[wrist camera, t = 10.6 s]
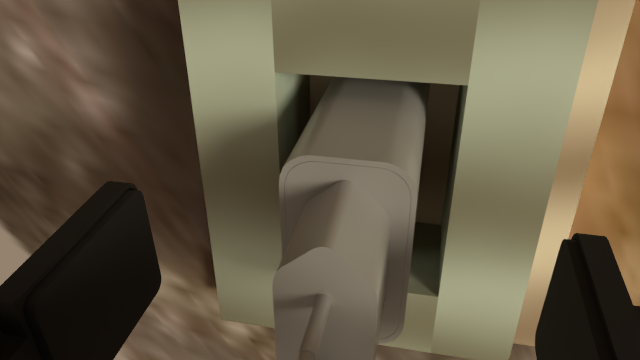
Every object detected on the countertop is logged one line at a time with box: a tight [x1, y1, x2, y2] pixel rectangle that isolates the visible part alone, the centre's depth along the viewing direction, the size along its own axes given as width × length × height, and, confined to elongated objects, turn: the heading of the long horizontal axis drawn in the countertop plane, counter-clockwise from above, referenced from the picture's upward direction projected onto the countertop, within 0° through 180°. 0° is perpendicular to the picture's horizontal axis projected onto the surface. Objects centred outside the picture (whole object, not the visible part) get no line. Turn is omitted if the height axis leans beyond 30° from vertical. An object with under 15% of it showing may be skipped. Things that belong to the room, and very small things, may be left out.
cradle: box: [178, 0, 635, 360], centre depth 18 cm, size 18×14×5 cm
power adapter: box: [272, 76, 430, 360], centre depth 14 cm, size 3×5×12 cm, turn 0°
